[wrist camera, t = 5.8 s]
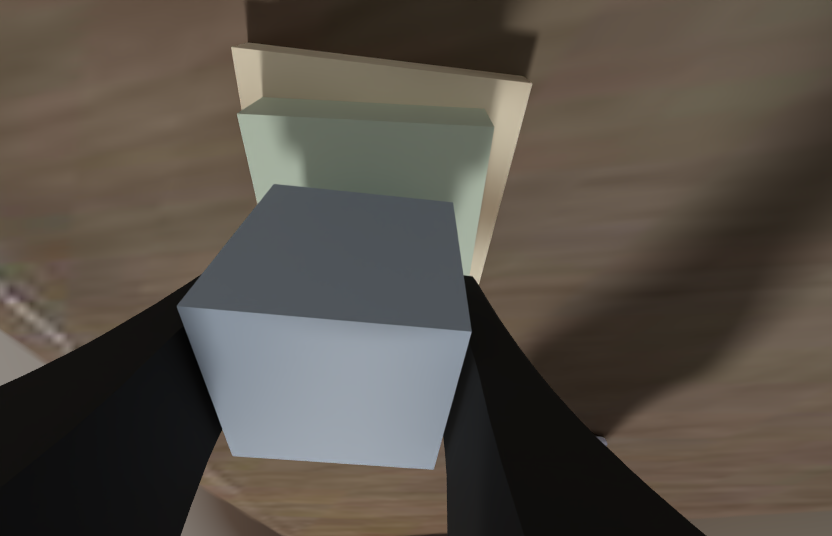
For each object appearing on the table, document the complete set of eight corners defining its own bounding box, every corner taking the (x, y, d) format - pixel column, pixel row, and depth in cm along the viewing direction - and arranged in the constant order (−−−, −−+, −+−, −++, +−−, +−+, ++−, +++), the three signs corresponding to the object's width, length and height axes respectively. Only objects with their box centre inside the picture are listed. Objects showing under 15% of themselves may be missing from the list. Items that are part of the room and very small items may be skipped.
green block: (459, 281, 16) (463, 313, 14) (295, 273, 16) (280, 305, 14) (484, 108, 12) (494, 127, 10) (262, 96, 12) (236, 113, 10)
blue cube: (430, 327, 12) (433, 469, 8) (290, 315, 12) (232, 456, 8) (452, 202, 9) (471, 331, 6) (273, 183, 9) (176, 306, 6)
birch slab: (469, 275, 18) (473, 302, 17) (284, 258, 18) (270, 284, 16) (518, 72, 13) (532, 83, 11) (256, 39, 12) (231, 47, 11)
